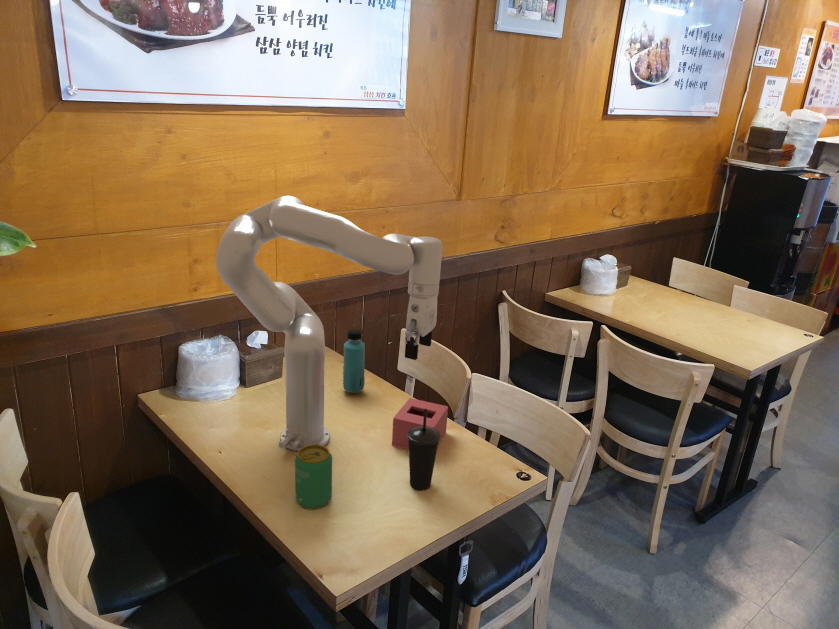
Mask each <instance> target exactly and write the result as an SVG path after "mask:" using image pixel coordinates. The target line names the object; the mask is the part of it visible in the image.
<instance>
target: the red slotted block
mask: <svg viewBox="0 0 839 629" xmlns="http://www.w3.org/2000/svg"><path fill="white" fill-rule="evenodd" d="M424 409H427V419H426V426H429V427H432V428H435V429H436V430H438V431H439V433H440V435H441V437H440V440H439V442H438V445H439V444H440V443H441V441H442V440H443V438H444V436H445V434H446V433H447V424H448V414H449V406H447V405H443V404H440V403H435V402H429V401H425V400H421V399H416V398H412V397H409V398H407V400H406V402H405V403H404V404H403V405H402V406H401V408H399V411H398V412H397V413H396V414H395V415H394V416H393V419H392V437H391V445H392V446H394V447H399V448H403V449H407V450H409V444H408V437H407V432H408V431H409V429H411V428H413V427H416V426H423V419H424Z"/></svg>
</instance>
